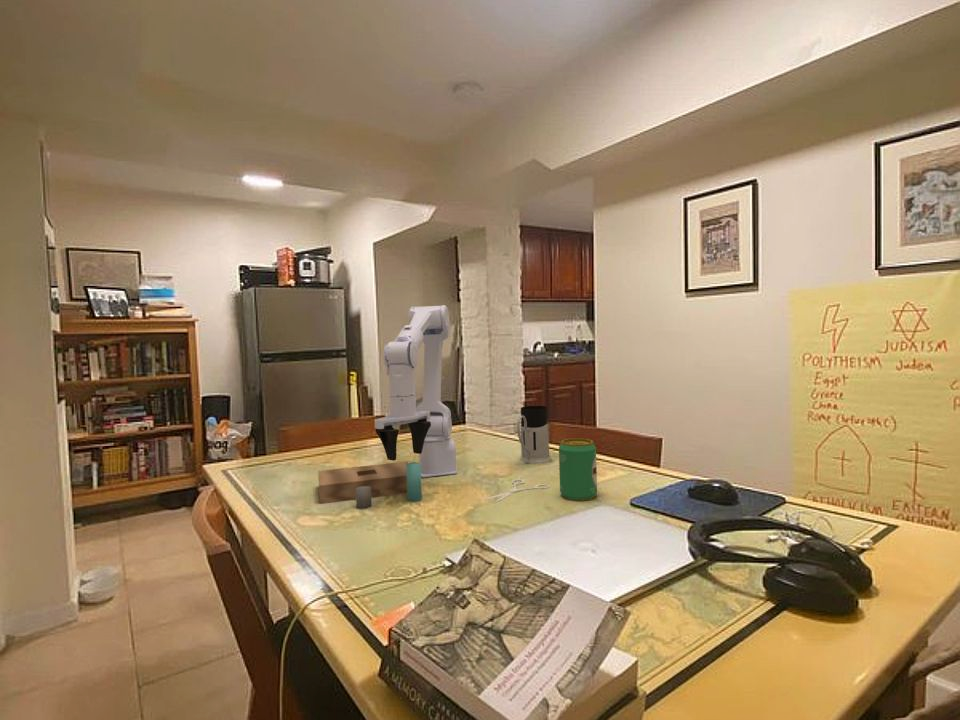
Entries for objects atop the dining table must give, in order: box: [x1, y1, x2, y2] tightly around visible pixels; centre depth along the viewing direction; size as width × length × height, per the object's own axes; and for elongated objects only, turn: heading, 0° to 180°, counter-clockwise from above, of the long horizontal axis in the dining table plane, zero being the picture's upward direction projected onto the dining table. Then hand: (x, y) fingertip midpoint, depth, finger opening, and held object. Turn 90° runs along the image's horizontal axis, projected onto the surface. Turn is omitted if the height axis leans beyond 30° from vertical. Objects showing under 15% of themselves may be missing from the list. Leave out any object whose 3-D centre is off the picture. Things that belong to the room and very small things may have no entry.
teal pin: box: [406, 461, 423, 503], centre depth 116 cm, size 3×3×8 cm
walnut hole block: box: [317, 461, 409, 504], centre depth 126 cm, size 22×14×4 cm, turn 108°
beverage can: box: [558, 437, 598, 502], centre depth 115 cm, size 8×8×12 cm
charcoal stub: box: [355, 486, 373, 510], centre depth 113 cm, size 3×3×4 cm
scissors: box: [478, 476, 550, 504], centre depth 120 cm, size 11×1×20 cm
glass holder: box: [516, 405, 552, 465], centre depth 148 cm, size 9×14×15 cm, turn 148°
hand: (405, 456), depth 117 cm, fingers open, 7 cm apart
